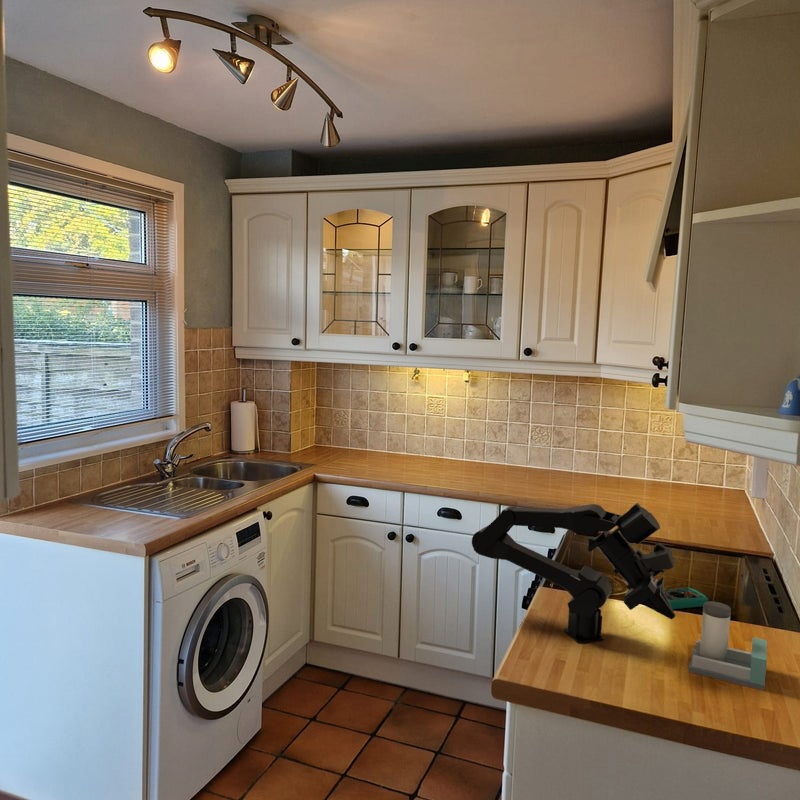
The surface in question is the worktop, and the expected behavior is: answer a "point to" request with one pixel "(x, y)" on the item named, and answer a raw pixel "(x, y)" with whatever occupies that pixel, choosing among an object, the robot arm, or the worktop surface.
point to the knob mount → (734, 665)
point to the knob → (715, 631)
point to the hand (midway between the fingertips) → (673, 617)
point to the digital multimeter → (685, 598)
